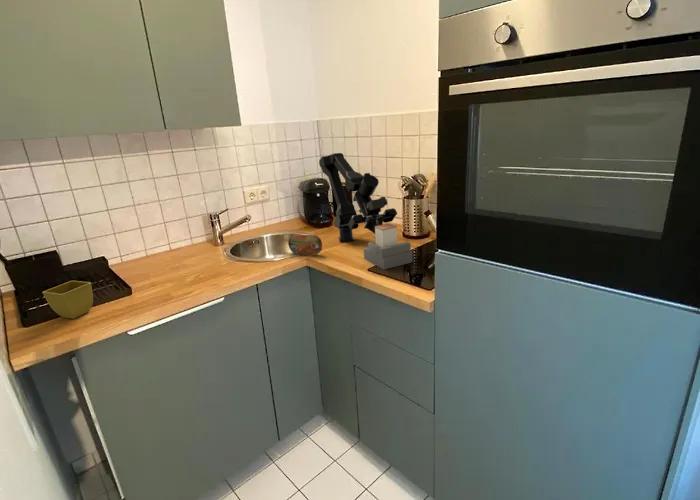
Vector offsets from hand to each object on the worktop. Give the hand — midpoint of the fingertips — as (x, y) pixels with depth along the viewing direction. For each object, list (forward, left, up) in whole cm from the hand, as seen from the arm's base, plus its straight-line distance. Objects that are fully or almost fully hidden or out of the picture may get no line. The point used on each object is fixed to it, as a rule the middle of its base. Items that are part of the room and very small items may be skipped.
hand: (382, 237), depth 139 cm
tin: (-14, -28, -8) cm, 33 cm away
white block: (+3, +1, -4) cm, 5 cm away
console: (+3, +1, -8) cm, 9 cm away
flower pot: (+21, -97, -8) cm, 100 cm away
